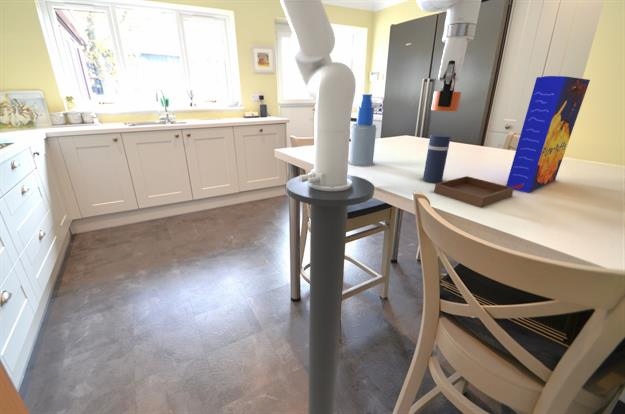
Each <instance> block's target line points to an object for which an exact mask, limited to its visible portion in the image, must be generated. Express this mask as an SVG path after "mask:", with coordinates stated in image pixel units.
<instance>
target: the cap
mask: <svg viewBox="0 0 625 414" xmlns="http://www.w3.org/2000/svg"><path fill="white" fill-rule="evenodd" d="M439 96H440V91H434V92H433V97H432V103H431V108H430V110H431V111H435V112H436V111H437V112H458V110H459V107H460V106H459V105H460V100H461V96H462V92H461V91H454V92H453V95H452V101H451V106H450V107H439V106H438V101H439Z"/></svg>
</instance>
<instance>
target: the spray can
mask: <svg viewBox="0 0 625 414" xmlns="http://www.w3.org/2000/svg"><path fill="white" fill-rule="evenodd" d="M450 142H451V135H449V134H441V133H432V134H431V133H430V135H429V141H428V144H427V145H428V146H427V153H426V159H425V165H424V171H423V175H422V180H423V181H424V182H426V183H431V184H436V183H440V182H443V177H444V173H445V168H446V163H447V157H448V153H449V148H450Z"/></svg>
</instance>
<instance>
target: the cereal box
mask: <svg viewBox="0 0 625 414" xmlns="http://www.w3.org/2000/svg"><path fill="white" fill-rule="evenodd" d="M590 81H591V79H587V78H580V77H572V76H567V75H566V76H562V75H546V76H538V77H536V79H535V81H534V82H535V83H534V86H533V89H532V93H531V95H530V96H531V97H530V99H529V103H528V107H527V110H526V114H525V117H524V121H523V125H522V128H521V131H520V136H519V139H518V141H517V142H518V143H517V146H516V150H515V153H514V156H513V160H512V164H511V167H510V171H509V174H508V178H507V181H506V184H505V186H508V187H512V188H514V190H513V191H518V192H523V193H527V194H530V193H533V192H535V191H536V190H538V189H540V188H542V187H544V186H547V185H549V184H551V183H553V182H555V181H556V179H557V176H558V173H559V170H560V167H561V165H562V161H563V159H564V157H565V153H566V150H567V147H568V144H569V141H570V139H571V136H572V133H573V131H574V127H575V124H576V121H577V119H578V116H579V114H580V110H581V107H582V104H583V101H584V98H585V96H586V93H587V90H588V87H589V84H590Z"/></svg>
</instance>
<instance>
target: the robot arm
mask: <svg viewBox="0 0 625 414" xmlns="http://www.w3.org/2000/svg"><path fill="white" fill-rule="evenodd" d="M279 2H280V4H281V7H282V9H283V11H284V14H285V17H286V20H287V22H288V25H289V27H290V29H291V32H292V33H291V36H290V39H289V40H290V41H289V47H290V48H289V49H290V53H291V56H292V58H293V60H294V63H295V65H296V67H297V69H298V71H299V73H300V76H301V78H302V80H303V83H304V85H305V87H306V89H307V91H308V92H309V95H311V97H312V98H313V99H314V100H315V101H316V103H315V111H314V139H313V140H314V141H313V142H314V143H313V147H314V148H313V155H314V156H313V169H310V172H309V173H308V175H307V174H299V175H298V176H299V181H300V182H306V181H308V185H309V186H310V187H311V188H313V189H316V190H321V191H333V192H334V191H343V190H347V189H349V188H351V187H352V181H351V180H350V179H348V178H347V175H348V171H349V156H350V153H349V152H350V140H351V121H352V120H351V119H352V111H353V106H354V105H353V104H354V100H355V95H356V89H357V88H356V87H357V85H356V83H357V82H356V77H355V75H354V72H353V71H352V69H351V68H350V67H349V66H348V65H346V64H345V63H342V62H339V61H334V62H333V60H332V57H331V55H330V54H332V52H333V50H334V48H335V45H336V44H335V43H336V36H335V33H334V29H333V26H332V23H331V21H330V19H329V17H328V15H327V12H326V9H325V7H324V4H323V1H322V0H279ZM416 4H417V6H418V7H419V9H421V11H423V12H426V13H437V12H438V13H439V12H446V16H445V21H444V27H443V32H442V33H443V34H442V39H441V42H442V43H444V47H443V51H442V57H441V61H440V67H439V72H438V77H437V80H438V81H439V82H442V84H441V90H440V91H439V92H440V96H439V101H438V106H439V107H450V106H451V101H452V95H453V92H455V89H456V88H455V87H456V82H458V81H459V80H460V77H461V73H462V69H463V66H464V61H465V57H466V51H467V47H468V43H470V42H473V41H474V38H475V33H476V29H477V25H478V24H477V23H478V19H479V14H480V9H481V4H482V0H416Z"/></svg>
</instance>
